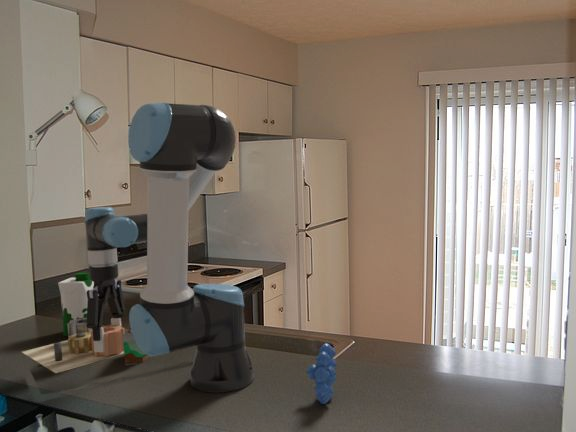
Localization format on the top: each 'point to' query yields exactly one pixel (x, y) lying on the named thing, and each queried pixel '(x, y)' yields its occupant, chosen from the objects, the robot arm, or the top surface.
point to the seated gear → (78, 326)
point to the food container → (132, 350)
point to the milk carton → (74, 298)
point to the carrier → (67, 353)
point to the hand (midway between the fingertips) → (108, 346)
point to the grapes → (324, 373)
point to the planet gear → (110, 340)
